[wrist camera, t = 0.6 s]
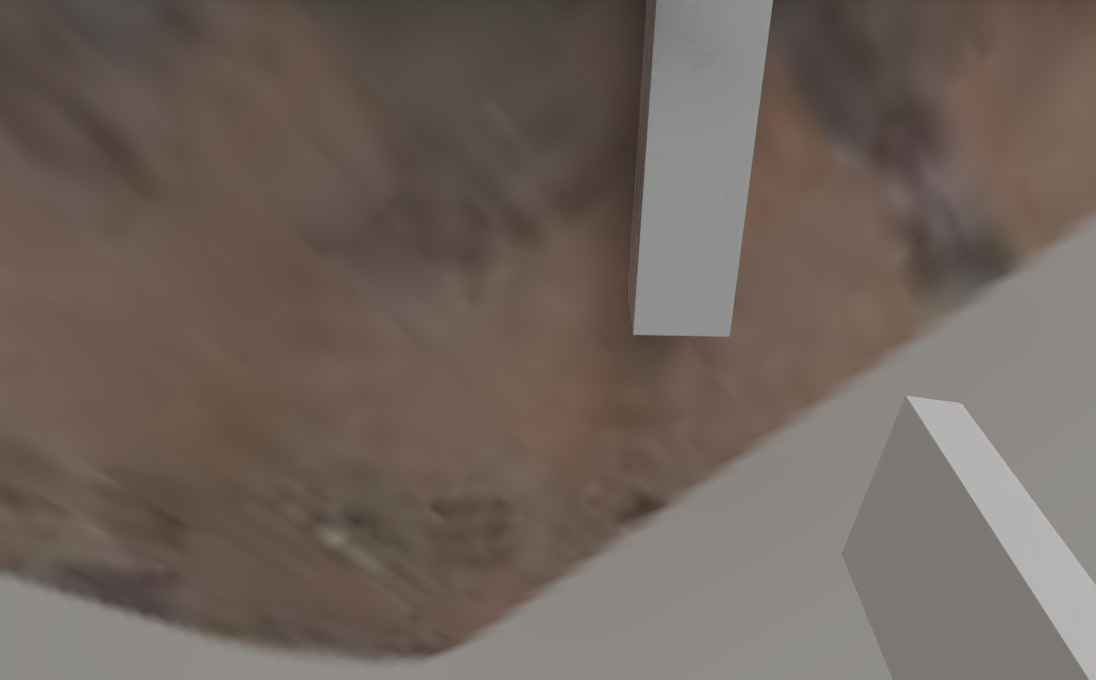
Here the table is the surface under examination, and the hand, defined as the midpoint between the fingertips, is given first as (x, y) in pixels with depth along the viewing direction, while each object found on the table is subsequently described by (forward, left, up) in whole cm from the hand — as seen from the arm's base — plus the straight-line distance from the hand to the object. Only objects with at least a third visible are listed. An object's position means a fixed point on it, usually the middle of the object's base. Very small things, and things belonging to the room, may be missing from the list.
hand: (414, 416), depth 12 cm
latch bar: (-2, +6, -16) cm, 17 cm away
